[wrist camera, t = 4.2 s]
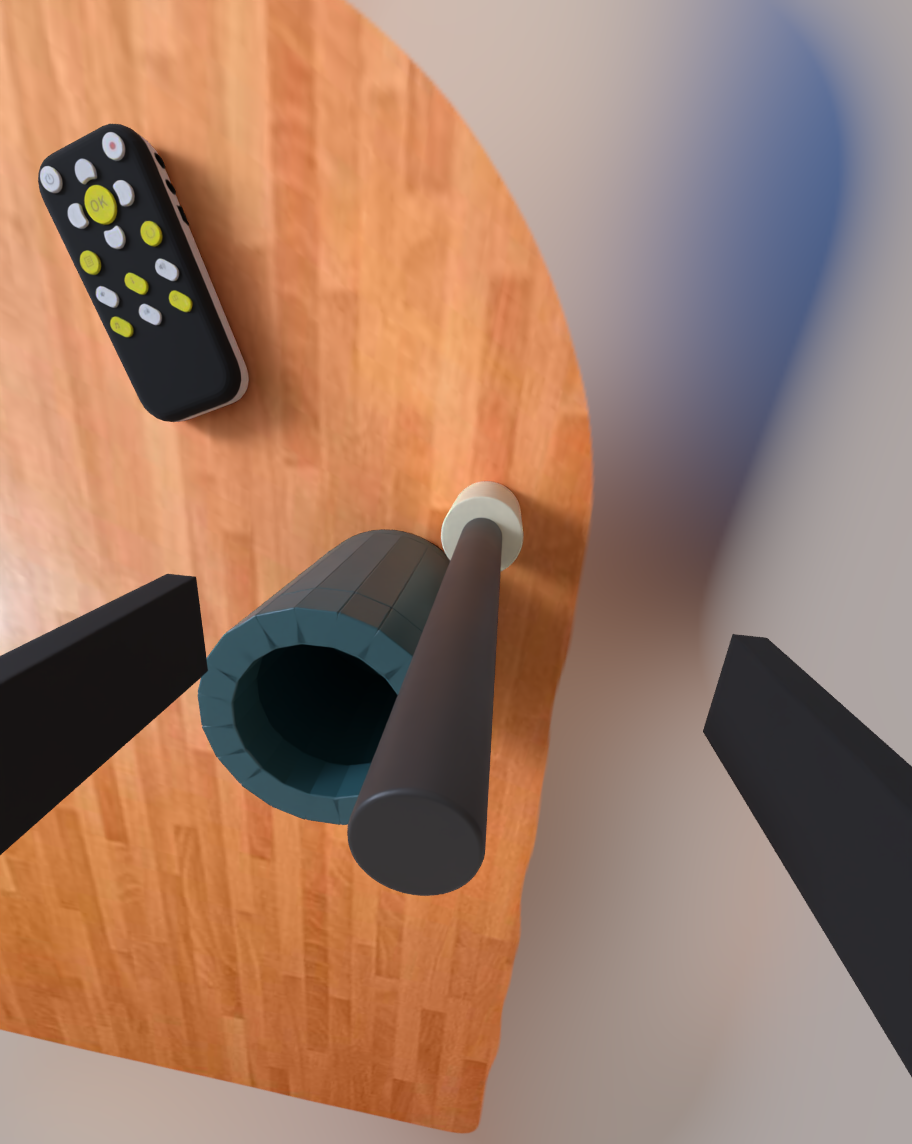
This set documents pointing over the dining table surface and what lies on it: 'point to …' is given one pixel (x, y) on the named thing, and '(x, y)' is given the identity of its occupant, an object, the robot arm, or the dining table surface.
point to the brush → (443, 716)
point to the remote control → (143, 272)
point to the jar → (320, 673)
